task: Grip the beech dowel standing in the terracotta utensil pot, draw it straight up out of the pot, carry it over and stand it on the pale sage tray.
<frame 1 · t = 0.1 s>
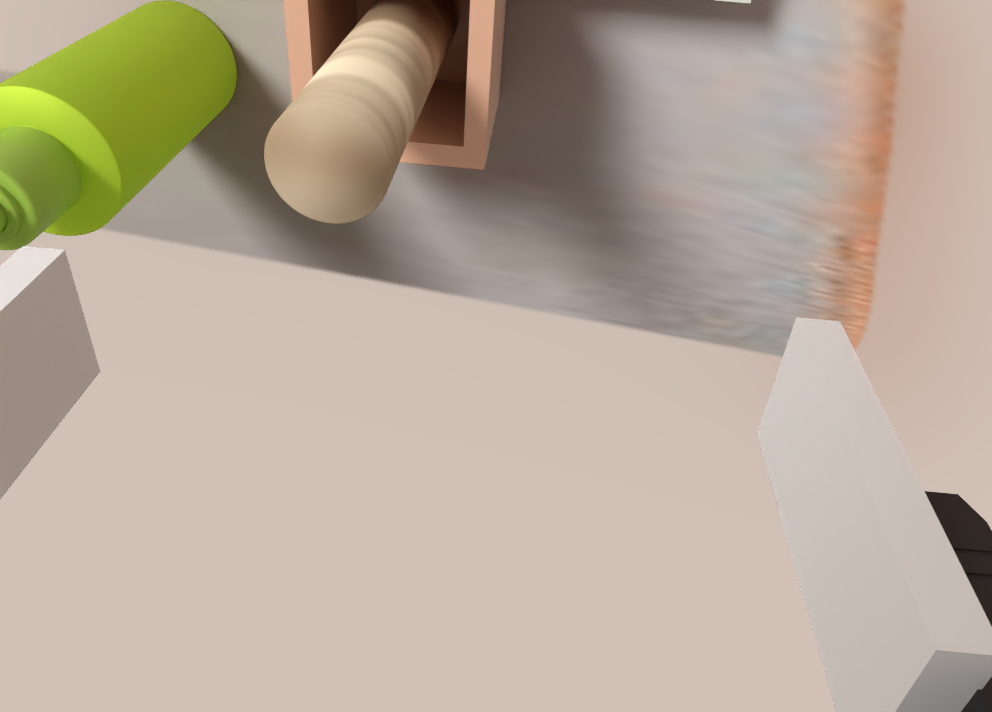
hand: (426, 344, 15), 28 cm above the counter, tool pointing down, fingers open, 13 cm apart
dowel: (420, 12, 37), point 1 cm above the counter, touching pot
pot: (423, 8, 38), on the counter
soap dispenser: (188, 70, 41), on the counter
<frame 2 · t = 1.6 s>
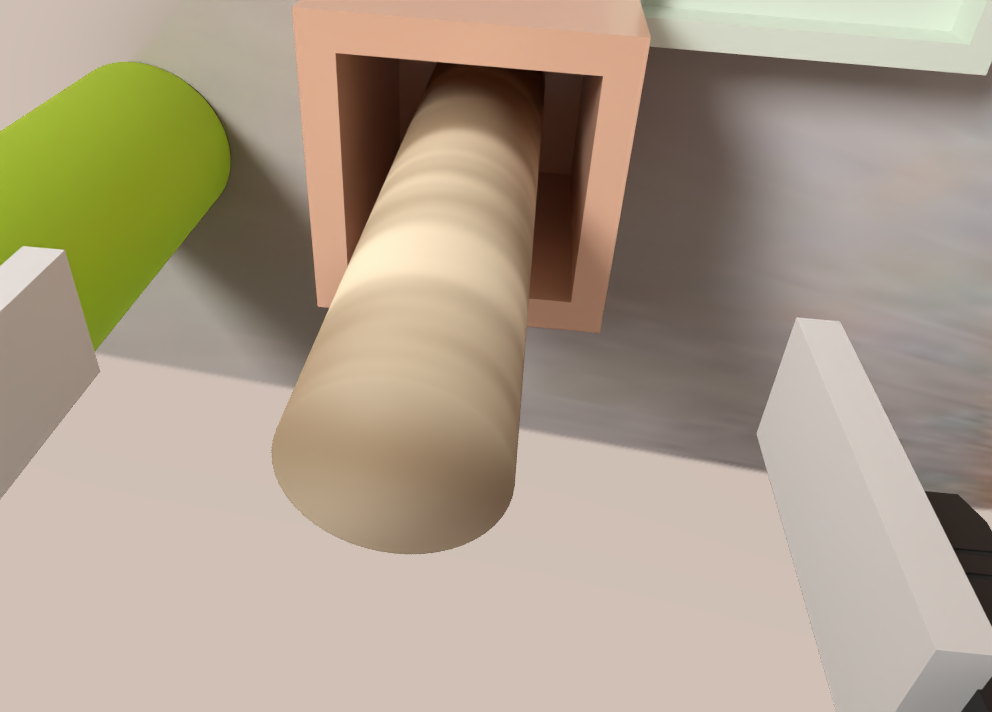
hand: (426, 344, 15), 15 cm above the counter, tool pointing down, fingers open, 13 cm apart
dowel: (490, 81, 26), point 1 cm above the counter, touching pot
pot: (492, 73, 27), on the counter
soap dispenser: (164, 152, 30), on the counter
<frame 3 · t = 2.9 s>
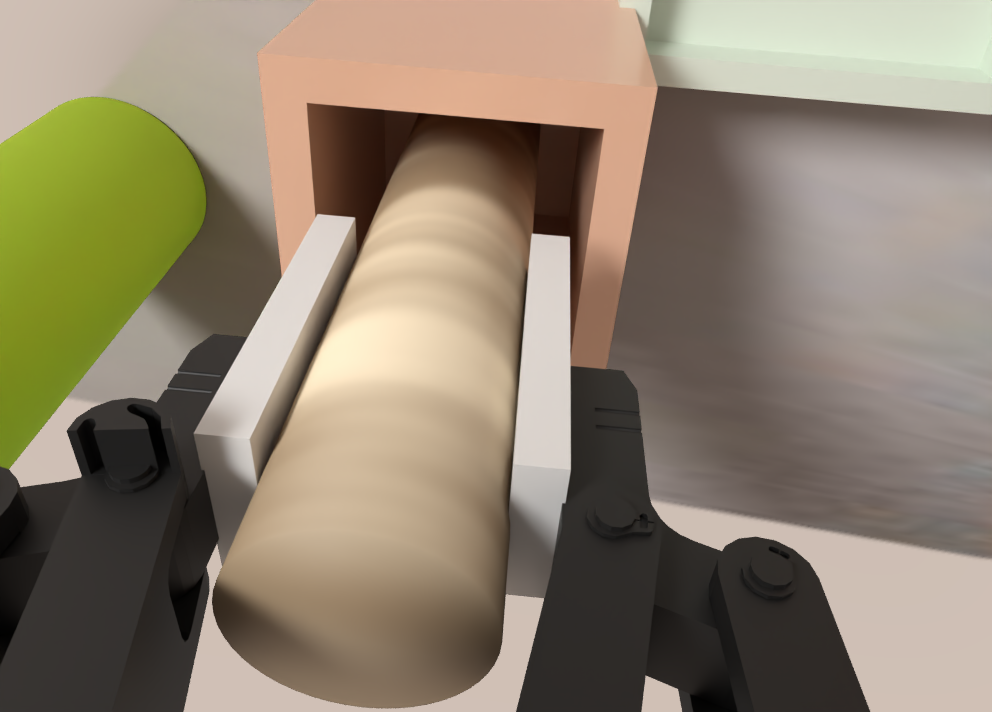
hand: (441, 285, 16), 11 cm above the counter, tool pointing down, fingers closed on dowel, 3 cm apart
dowel: (482, 119, 24), point 1 cm above the counter, touching gripper, pot
pot: (484, 110, 25), on the counter
soap dispenser: (135, 191, 28), on the counter
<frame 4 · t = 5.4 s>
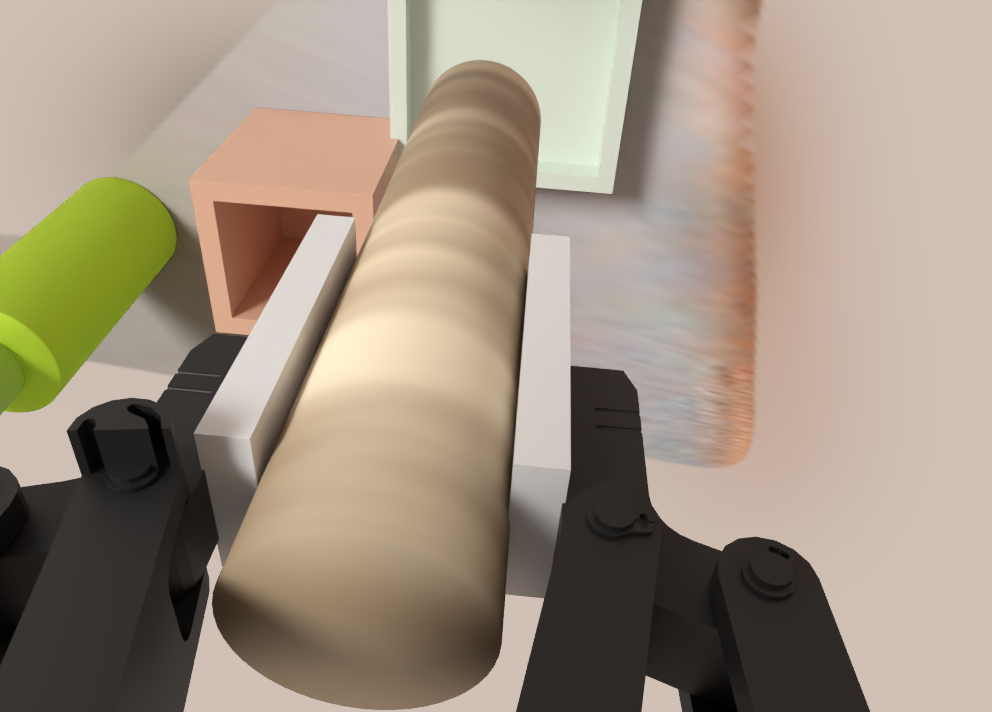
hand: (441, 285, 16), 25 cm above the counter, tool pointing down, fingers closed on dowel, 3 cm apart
dowel: (481, 120, 24), point 16 cm above the counter, touching gripper
pot: (335, 185, 43), on the counter
tray: (515, 0, 37), on the counter
soap dispenser: (133, 230, 46), on the counter
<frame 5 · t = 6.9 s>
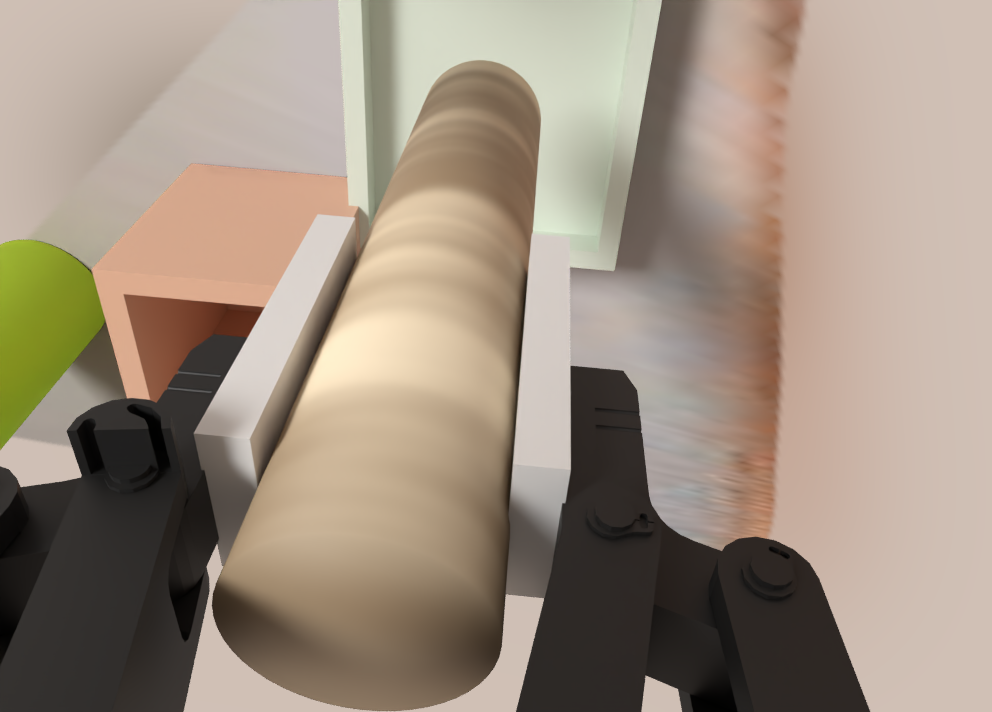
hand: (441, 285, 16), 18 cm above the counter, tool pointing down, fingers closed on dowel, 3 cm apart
dowel: (481, 120, 24), point 8 cm above the counter, touching gripper
pot: (289, 251, 37), on the counter
tray: (499, 42, 30), on the counter
soap dispenser: (57, 298, 39), on the counter
when the fingers open (12 cm above the counter, at t = 8.1 s): dowel drops 1 cm, resting on tray.
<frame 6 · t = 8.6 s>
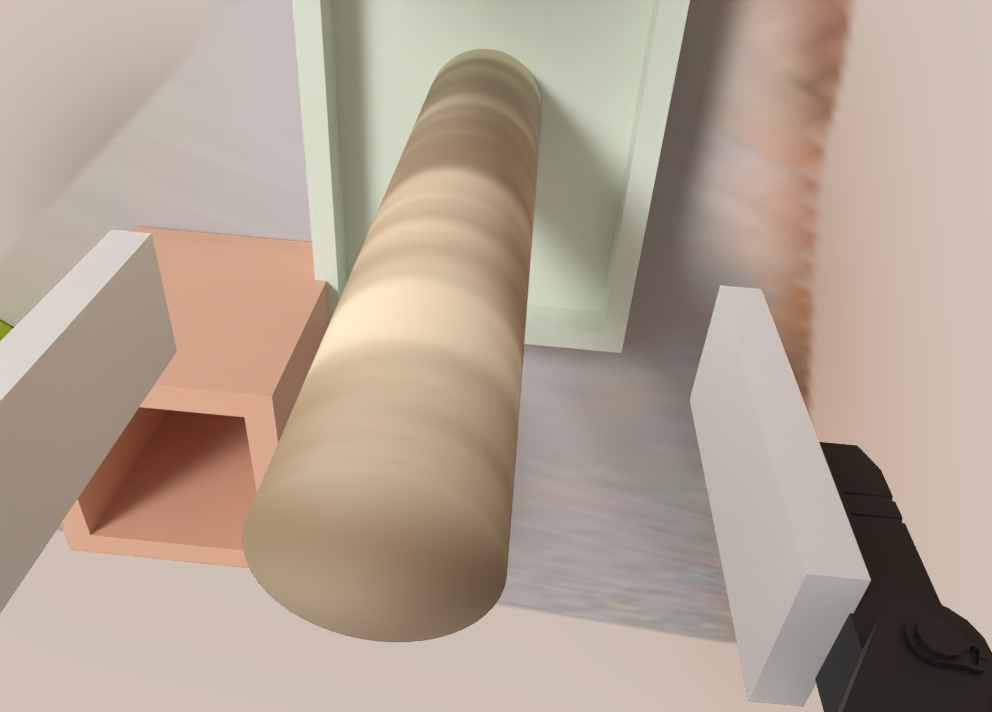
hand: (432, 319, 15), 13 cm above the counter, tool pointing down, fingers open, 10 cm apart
dowel: (485, 107, 25), point 1 cm above the counter, touching tray
pot: (252, 321, 32), on the counter
tray: (488, 94, 26), on the counter
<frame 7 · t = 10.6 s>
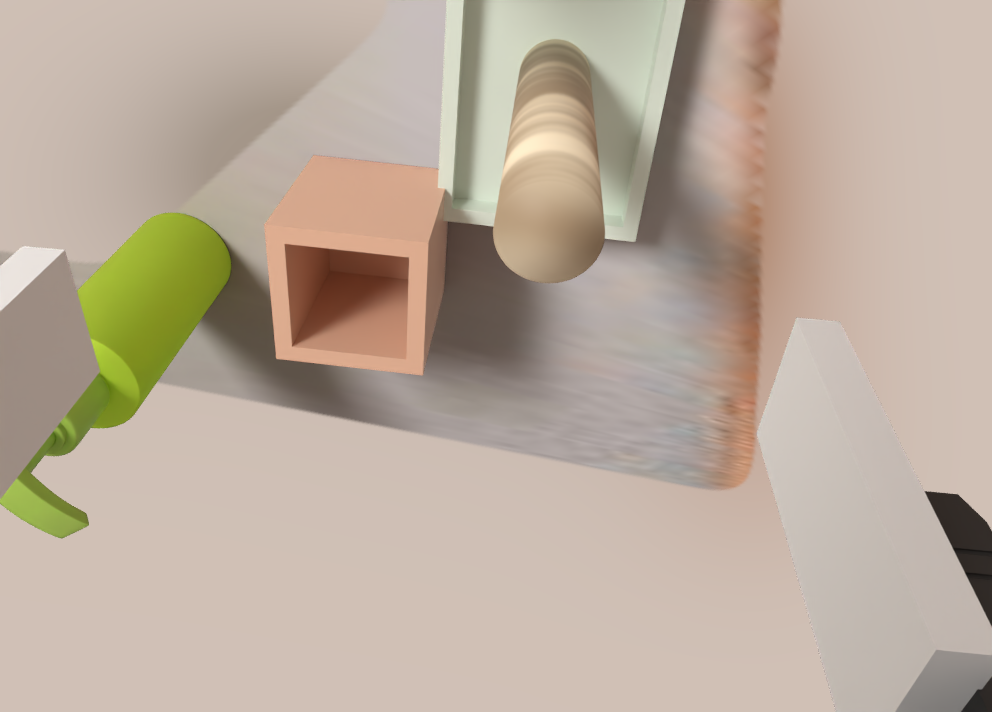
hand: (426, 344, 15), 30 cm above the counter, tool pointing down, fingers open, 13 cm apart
dowel: (554, 76, 40), point 1 cm above the counter, touching tray
pot: (381, 225, 47), on the counter
tray: (554, 69, 41), on the counter
soap dispenser: (191, 261, 50), on the counter
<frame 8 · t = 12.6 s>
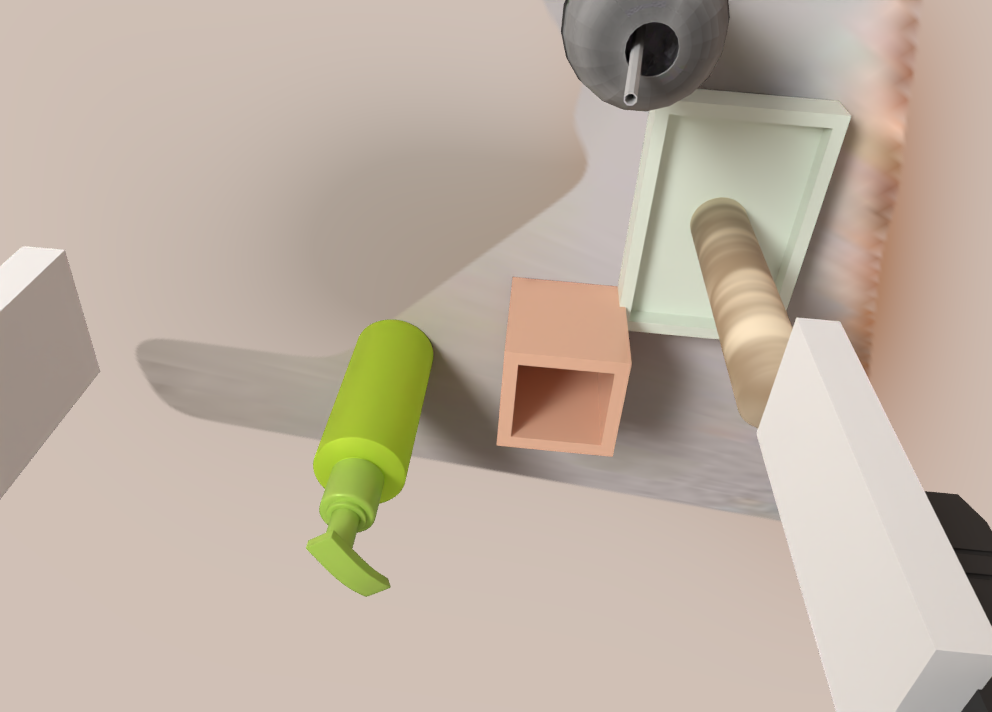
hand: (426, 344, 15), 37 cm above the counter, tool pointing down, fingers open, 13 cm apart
dowel: (718, 223, 51), point 1 cm above the counter, touching tray
pot: (561, 327, 58), on the counter
tray: (715, 214, 52), on the counter
soap dispenser: (399, 354, 61), on the counter
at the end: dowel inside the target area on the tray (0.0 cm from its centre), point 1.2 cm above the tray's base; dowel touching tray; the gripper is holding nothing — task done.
